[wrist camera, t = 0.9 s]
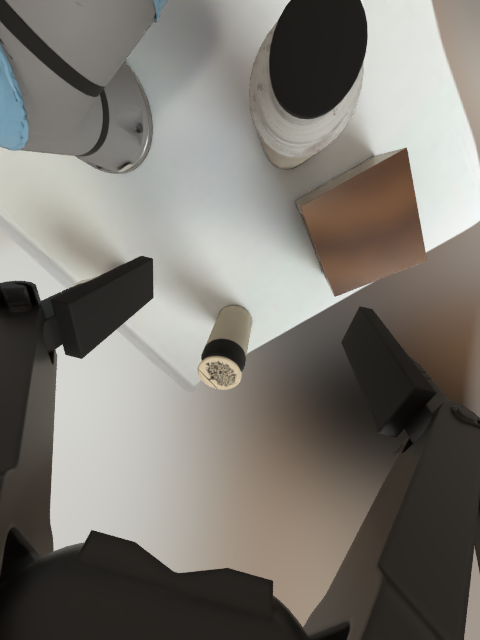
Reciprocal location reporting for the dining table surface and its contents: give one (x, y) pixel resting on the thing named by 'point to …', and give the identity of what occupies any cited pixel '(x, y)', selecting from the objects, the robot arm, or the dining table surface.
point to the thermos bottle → (308, 78)
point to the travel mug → (226, 349)
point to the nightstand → (365, 222)
